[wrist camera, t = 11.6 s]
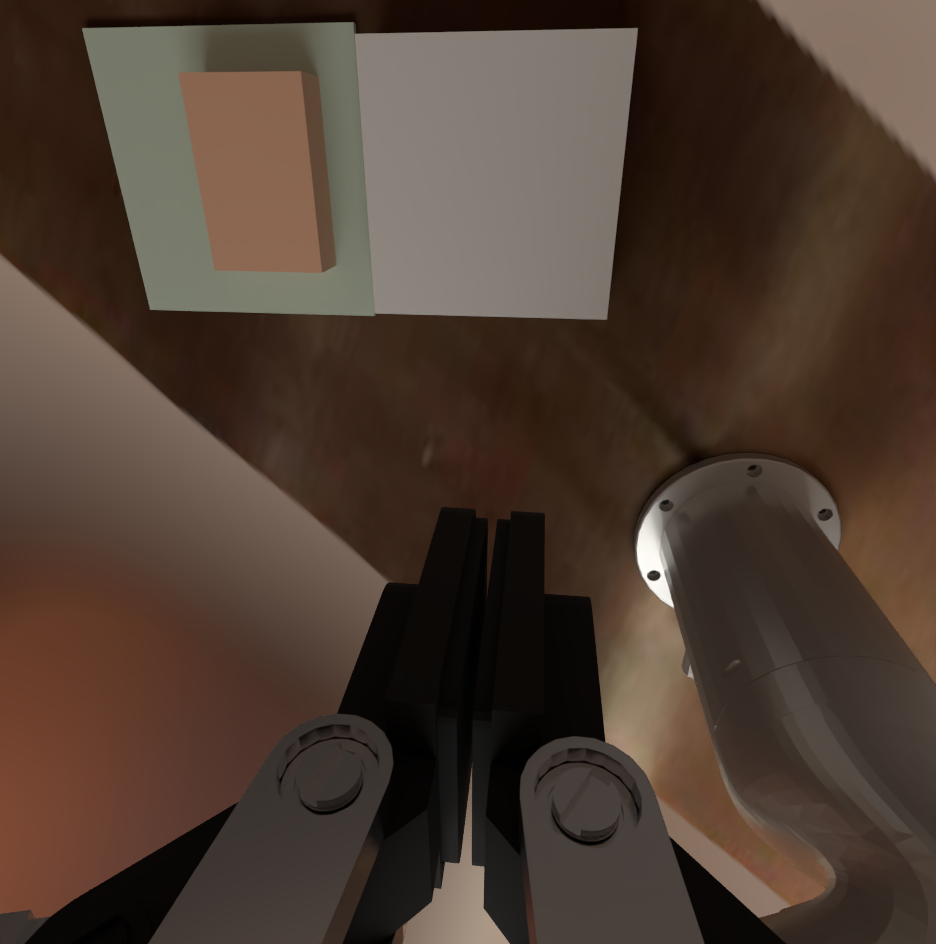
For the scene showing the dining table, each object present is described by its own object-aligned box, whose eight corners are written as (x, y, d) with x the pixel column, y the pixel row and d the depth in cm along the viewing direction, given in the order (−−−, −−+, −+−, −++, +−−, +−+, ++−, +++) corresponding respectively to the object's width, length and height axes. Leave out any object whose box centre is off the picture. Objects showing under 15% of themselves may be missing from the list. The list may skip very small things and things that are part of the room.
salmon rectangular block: (214, 270, 33) (235, 263, 35) (321, 272, 32) (336, 265, 34) (178, 72, 29) (204, 78, 31) (300, 70, 28) (318, 77, 30)
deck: (600, 302, 34) (606, 319, 30) (391, 297, 35) (374, 313, 32) (626, 43, 28) (637, 28, 25) (377, 48, 30) (354, 34, 26)
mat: (376, 314, 36) (374, 315, 35) (154, 308, 37) (150, 309, 37) (355, 23, 29) (353, 22, 29) (87, 29, 31) (82, 28, 30)
